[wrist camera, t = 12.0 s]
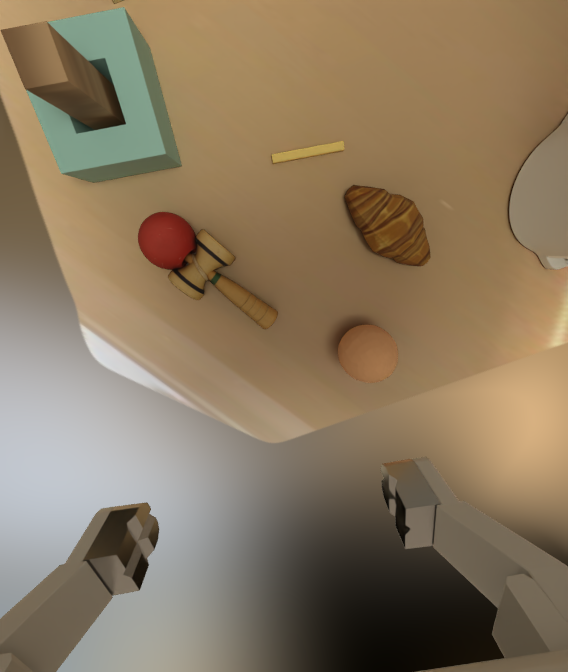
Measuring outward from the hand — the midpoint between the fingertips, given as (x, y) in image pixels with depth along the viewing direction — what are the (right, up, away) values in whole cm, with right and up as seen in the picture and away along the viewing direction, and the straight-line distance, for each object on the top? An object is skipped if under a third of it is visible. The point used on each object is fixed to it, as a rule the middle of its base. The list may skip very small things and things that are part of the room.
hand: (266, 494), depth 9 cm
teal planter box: (-16, +28, +18) cm, 37 cm away
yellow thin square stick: (+3, +26, +21) cm, 33 cm away
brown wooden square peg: (-16, +28, +19) cm, 37 cm away
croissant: (+13, +19, +24) cm, 34 cm away
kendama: (-8, +14, +25) cm, 30 cm away
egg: (+11, +5, +30) cm, 32 cm away
